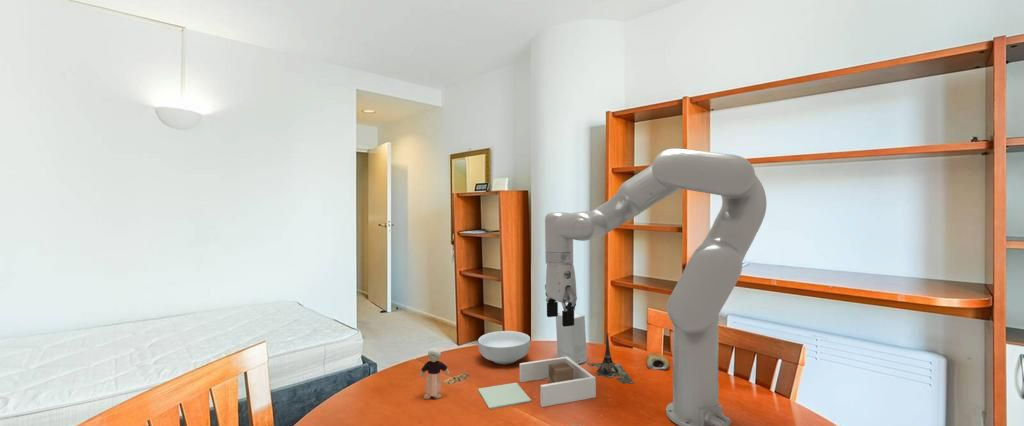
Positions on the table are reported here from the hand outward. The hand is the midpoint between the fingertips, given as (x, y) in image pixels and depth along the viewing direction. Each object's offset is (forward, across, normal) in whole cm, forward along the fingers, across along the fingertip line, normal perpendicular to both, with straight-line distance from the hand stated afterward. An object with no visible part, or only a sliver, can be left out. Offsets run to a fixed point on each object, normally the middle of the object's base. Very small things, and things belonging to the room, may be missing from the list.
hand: (560, 321), depth 108 cm
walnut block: (+18, 0, 0) cm, 18 cm away
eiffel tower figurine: (+19, +4, -18) cm, 26 cm away
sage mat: (+18, +1, +16) cm, 24 cm away
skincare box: (+18, +17, -12) cm, 28 cm away
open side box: (+18, 0, +2) cm, 18 cm away
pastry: (+19, +4, -35) cm, 40 cm away
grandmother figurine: (+18, +7, +33) cm, 38 cm away
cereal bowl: (+18, +25, +8) cm, 32 cm away
